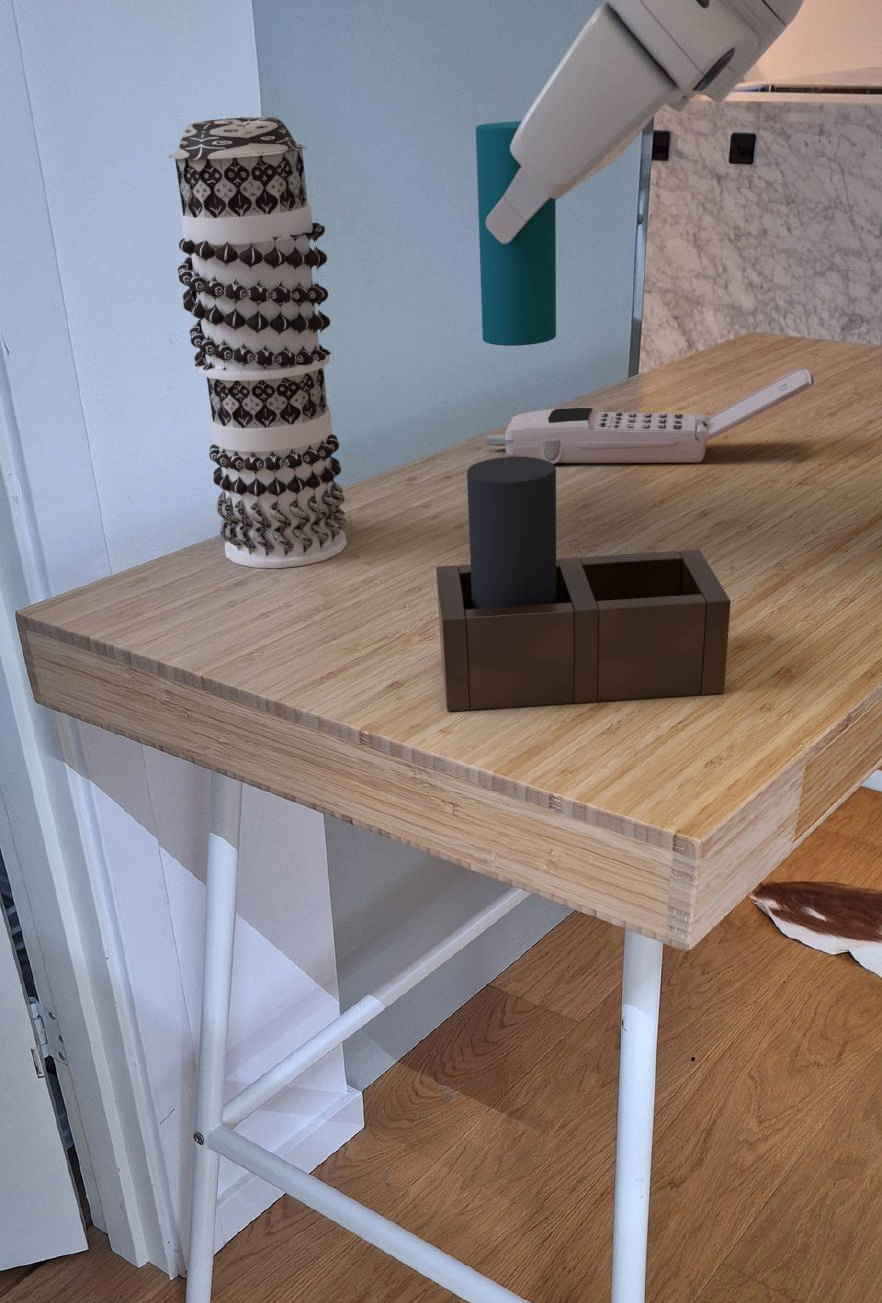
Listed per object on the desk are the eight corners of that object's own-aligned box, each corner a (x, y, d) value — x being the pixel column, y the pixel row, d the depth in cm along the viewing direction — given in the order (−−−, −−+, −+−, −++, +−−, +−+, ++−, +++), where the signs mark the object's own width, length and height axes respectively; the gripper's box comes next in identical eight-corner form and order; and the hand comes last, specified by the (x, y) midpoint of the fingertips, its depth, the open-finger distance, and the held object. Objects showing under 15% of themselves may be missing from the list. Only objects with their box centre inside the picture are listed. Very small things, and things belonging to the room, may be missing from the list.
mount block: (694, 636, 76) (700, 548, 73) (724, 693, 70) (731, 600, 67) (440, 652, 76) (436, 566, 73) (447, 712, 70) (442, 619, 67)
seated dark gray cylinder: (551, 657, 75) (550, 453, 68) (560, 690, 71) (560, 478, 65) (472, 662, 75) (464, 459, 68) (477, 696, 71) (469, 484, 65)
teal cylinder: (552, 329, 83) (551, 118, 76) (559, 343, 79) (558, 123, 73) (480, 333, 83) (473, 123, 76) (484, 348, 79) (477, 128, 73)
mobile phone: (815, 382, 98) (476, 386, 102) (807, 466, 102) (479, 466, 106) (810, 365, 103) (487, 369, 107) (802, 445, 107) (489, 446, 110)
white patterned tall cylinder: (371, 555, 90) (334, 117, 76) (236, 579, 88) (171, 131, 73) (332, 518, 97) (291, 110, 83) (206, 538, 95) (142, 123, 80)
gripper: (668, -39, 77) (506, 165, 85) (616, -47, 61) (421, 205, 69) (742, 50, 79) (575, 242, 86) (710, 65, 62) (509, 300, 70)
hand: (506, 226), depth 78 cm, fingers closed on teal cylinder, 4 cm apart
